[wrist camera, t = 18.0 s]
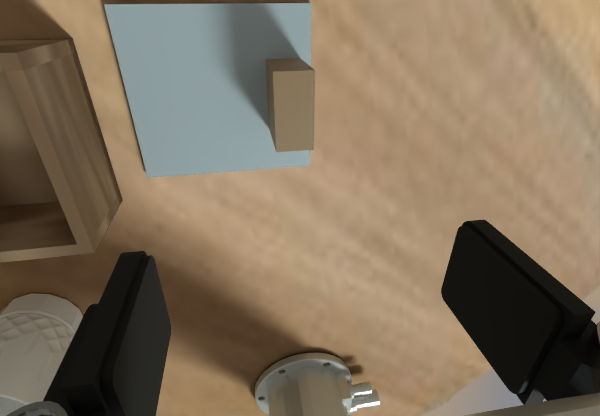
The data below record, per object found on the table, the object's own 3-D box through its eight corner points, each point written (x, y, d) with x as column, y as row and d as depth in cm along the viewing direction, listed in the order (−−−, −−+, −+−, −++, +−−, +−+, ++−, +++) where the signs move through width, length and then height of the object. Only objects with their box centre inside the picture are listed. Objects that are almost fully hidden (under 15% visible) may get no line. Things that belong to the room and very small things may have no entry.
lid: (308, 3, 24) (329, 3, 19) (307, 161, 30) (322, 193, 25) (108, 4, 22) (72, 5, 17) (150, 172, 28) (132, 210, 23)
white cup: (109, 323, 35) (71, 426, 27) (46, 356, 36) (-11, 466, 27) (44, 274, 31) (-25, 377, 23) (-25, 312, 32) (-118, 426, 23)
